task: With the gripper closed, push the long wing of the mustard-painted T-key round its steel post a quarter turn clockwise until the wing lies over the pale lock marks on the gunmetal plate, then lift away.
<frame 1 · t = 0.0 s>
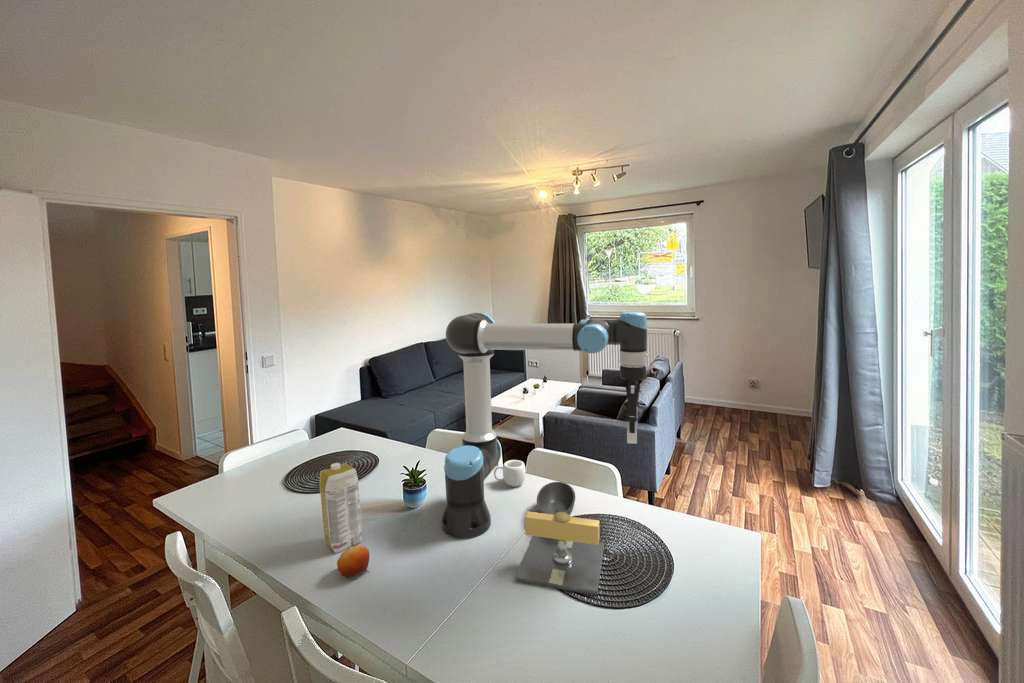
hand: (632, 435, 129), 28 cm above the table, fingers open, 13 cm apart
fruit: (354, 572, 113), on the table
bowl: (556, 516, 138), on the table
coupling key: (562, 526, 113), point 10 cm above the table, hinge at 0.0°
juice carton: (344, 544, 126), on the table
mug: (509, 483, 161), on the table
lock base: (562, 562, 114), on the table
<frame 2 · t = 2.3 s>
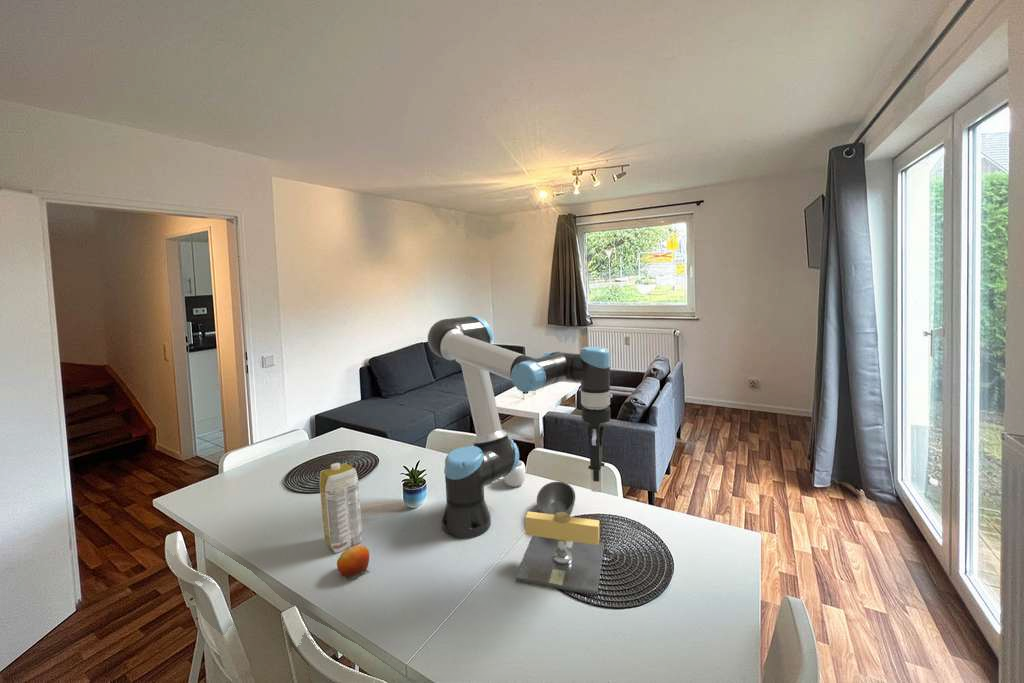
hand: (596, 490, 117), 18 cm above the table, fingers closed
nothing on the table moved.
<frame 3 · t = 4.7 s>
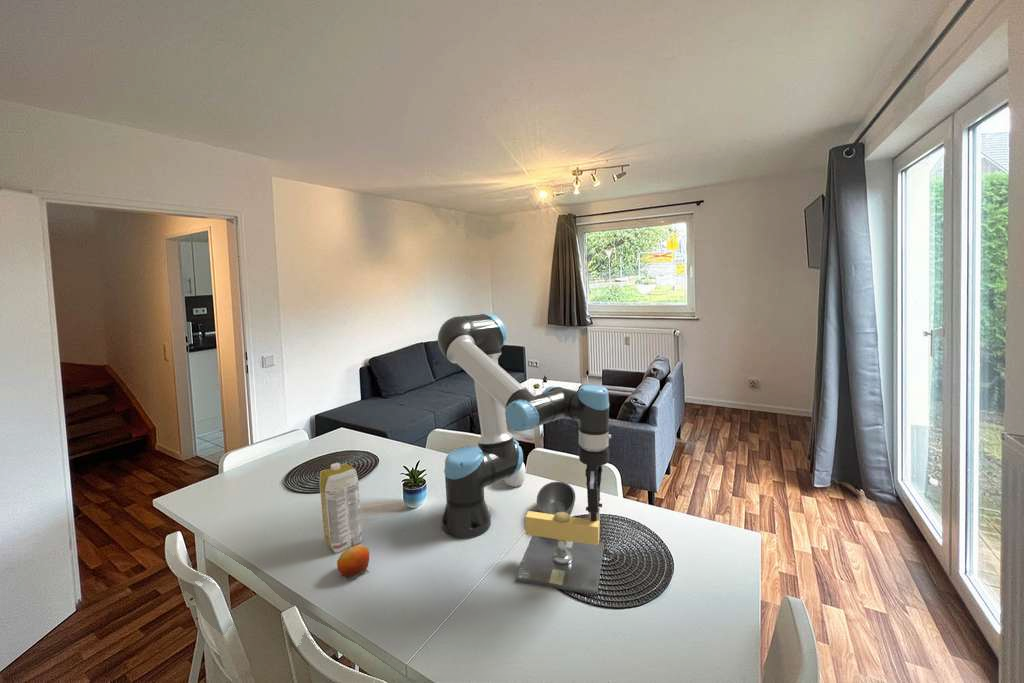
hand: (594, 531, 114), 8 cm above the table, fingers closed
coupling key: (562, 526, 113), point 10 cm above the table, hinge at 1.5°, touching gripper
everything else where it was.
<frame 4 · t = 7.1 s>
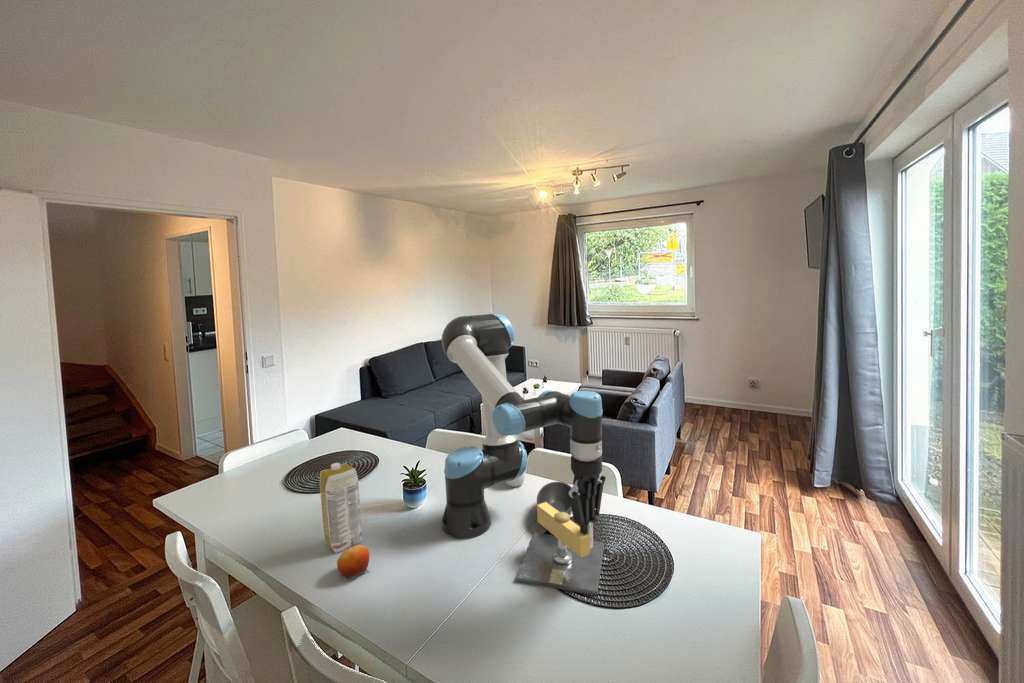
hand: (587, 545, 108), 8 cm above the table, fingers closed
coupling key: (562, 526, 113), point 10 cm above the table, hinge at 43.4°, touching gripper
everything else where it was.
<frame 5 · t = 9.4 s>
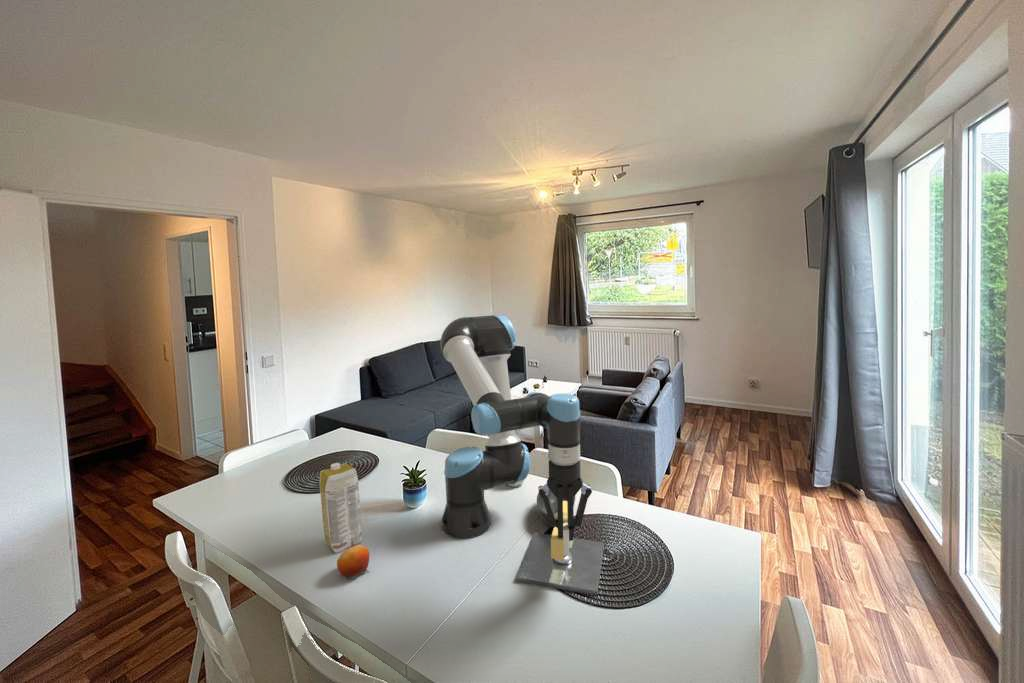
hand: (565, 551, 105), 8 cm above the table, fingers closed
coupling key: (562, 526, 113), point 10 cm above the table, hinge at 87.2°, touching gripper
everything else where it was.
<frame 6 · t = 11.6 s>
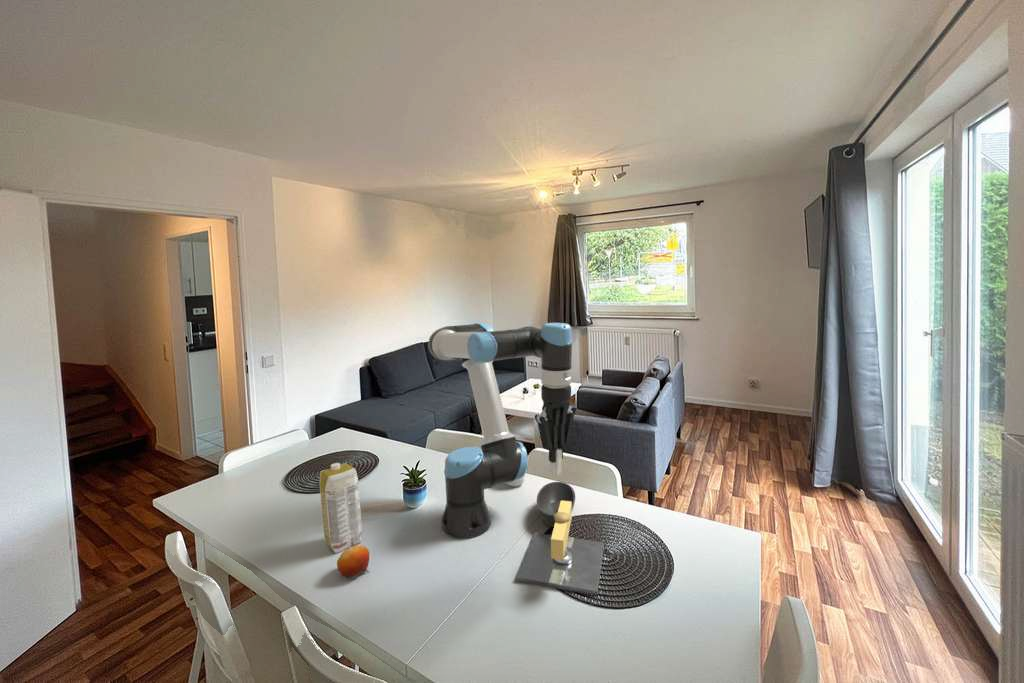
hand: (555, 472, 112), 25 cm above the table, fingers closed
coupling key: (562, 526, 113), point 10 cm above the table, hinge at 87.2°
everything else where it was.
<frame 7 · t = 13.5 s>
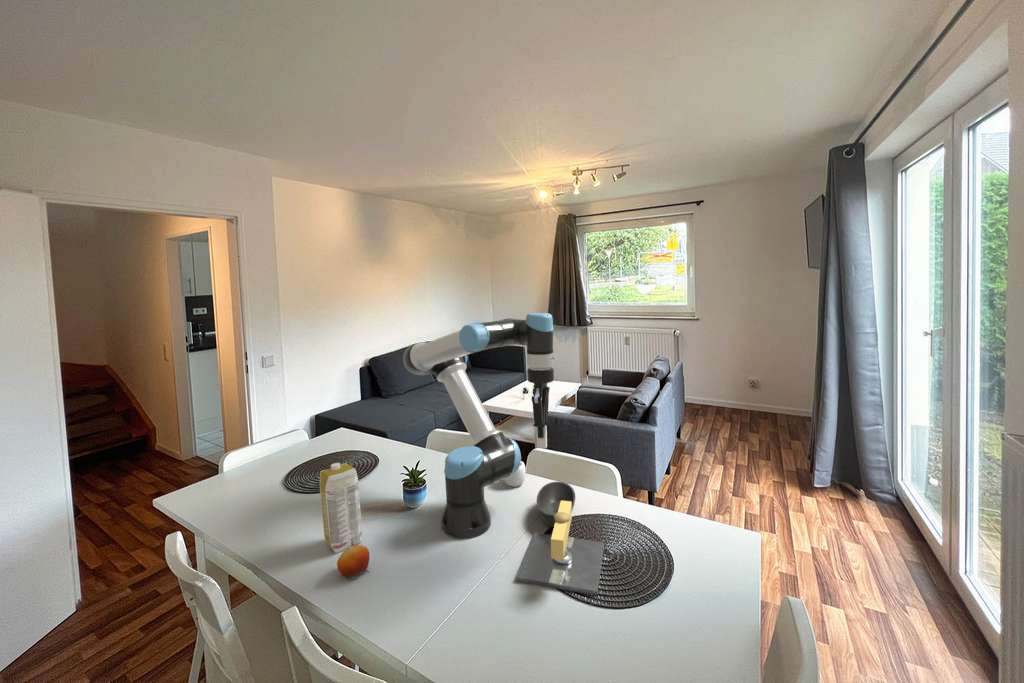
hand: (541, 447, 126), 26 cm above the table, fingers closed
nothing on the table moved.
at the end: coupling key at +87° (first picture: +0°) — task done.
